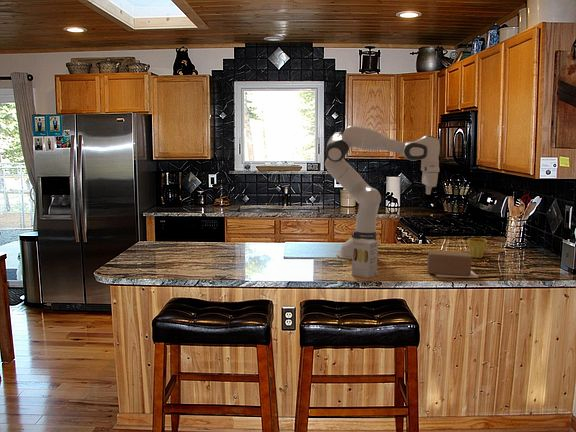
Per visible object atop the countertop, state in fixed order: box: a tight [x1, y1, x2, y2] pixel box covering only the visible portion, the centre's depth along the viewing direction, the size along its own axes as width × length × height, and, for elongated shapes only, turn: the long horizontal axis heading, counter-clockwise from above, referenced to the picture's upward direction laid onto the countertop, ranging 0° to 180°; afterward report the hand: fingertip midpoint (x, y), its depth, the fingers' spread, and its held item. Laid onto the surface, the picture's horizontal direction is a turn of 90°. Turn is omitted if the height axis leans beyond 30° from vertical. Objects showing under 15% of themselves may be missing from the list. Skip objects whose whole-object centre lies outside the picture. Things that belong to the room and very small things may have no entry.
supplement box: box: [351, 239, 379, 279], centre depth 274 cm, size 10×9×17 cm
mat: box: [434, 270, 479, 279], centre depth 283 cm, size 20×16×1 cm
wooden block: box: [426, 249, 473, 276], centre depth 280 cm, size 10×10×20 cm
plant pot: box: [467, 237, 488, 259], centre depth 322 cm, size 10×10×10 cm
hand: (428, 194), depth 296 cm, fingers closed
